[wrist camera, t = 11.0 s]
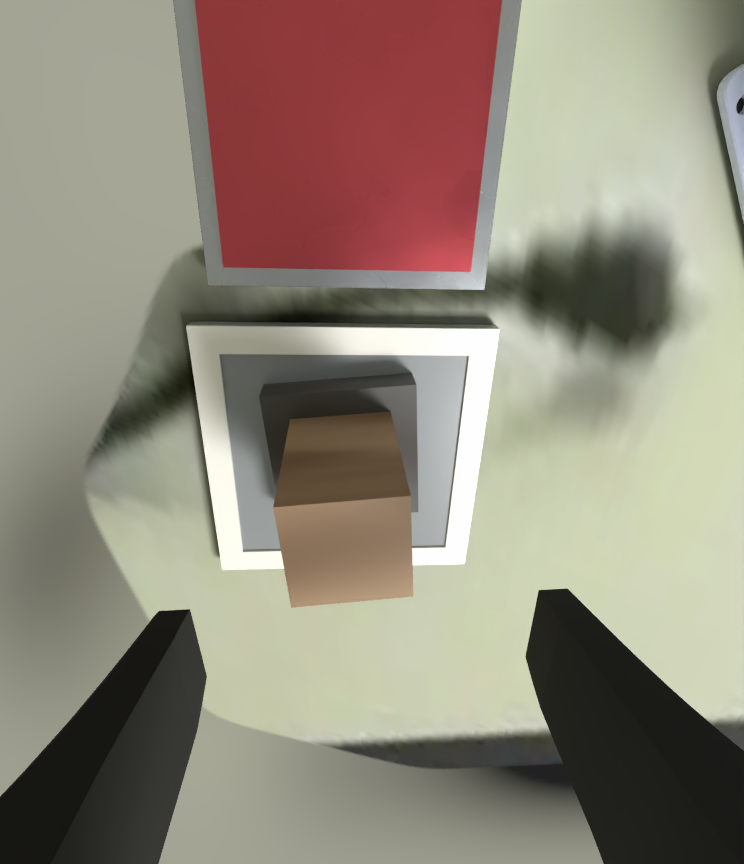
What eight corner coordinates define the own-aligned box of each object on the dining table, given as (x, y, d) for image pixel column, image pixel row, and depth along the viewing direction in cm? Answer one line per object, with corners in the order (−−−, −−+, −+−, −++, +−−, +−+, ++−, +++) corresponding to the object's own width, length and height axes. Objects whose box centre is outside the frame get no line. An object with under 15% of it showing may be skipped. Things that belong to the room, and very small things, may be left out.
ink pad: (474, 283, 17) (486, 291, 16) (216, 278, 17) (205, 287, 15) (516, -59, 13) (536, -87, 12) (174, -83, 13) (155, -115, 11)
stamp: (414, 494, 21) (444, 616, 15) (284, 505, 20) (264, 633, 15) (412, 372, 18) (447, 461, 12) (263, 383, 18) (229, 480, 12)
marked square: (461, 555, 23) (464, 564, 22) (224, 560, 22) (222, 570, 22) (495, 324, 18) (499, 328, 17) (190, 321, 17) (185, 325, 17)
